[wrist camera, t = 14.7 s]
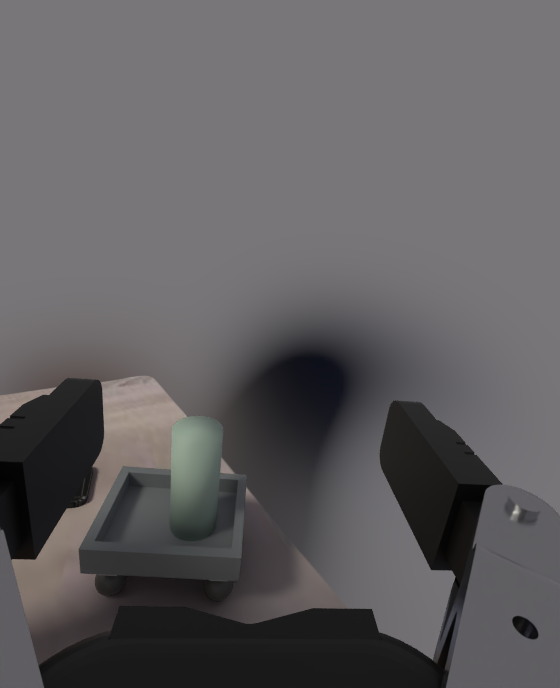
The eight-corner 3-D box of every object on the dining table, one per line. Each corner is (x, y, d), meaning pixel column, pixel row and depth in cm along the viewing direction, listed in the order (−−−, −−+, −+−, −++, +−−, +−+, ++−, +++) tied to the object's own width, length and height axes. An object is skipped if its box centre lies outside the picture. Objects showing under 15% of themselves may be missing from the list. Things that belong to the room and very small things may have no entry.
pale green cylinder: (165, 540, 40) (166, 442, 36) (175, 504, 45) (177, 414, 41) (213, 542, 41) (220, 446, 37) (218, 507, 45) (225, 417, 41)
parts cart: (83, 606, 38) (78, 549, 36) (124, 514, 50) (123, 466, 47) (235, 613, 40) (241, 558, 37) (241, 522, 51) (246, 475, 48)
